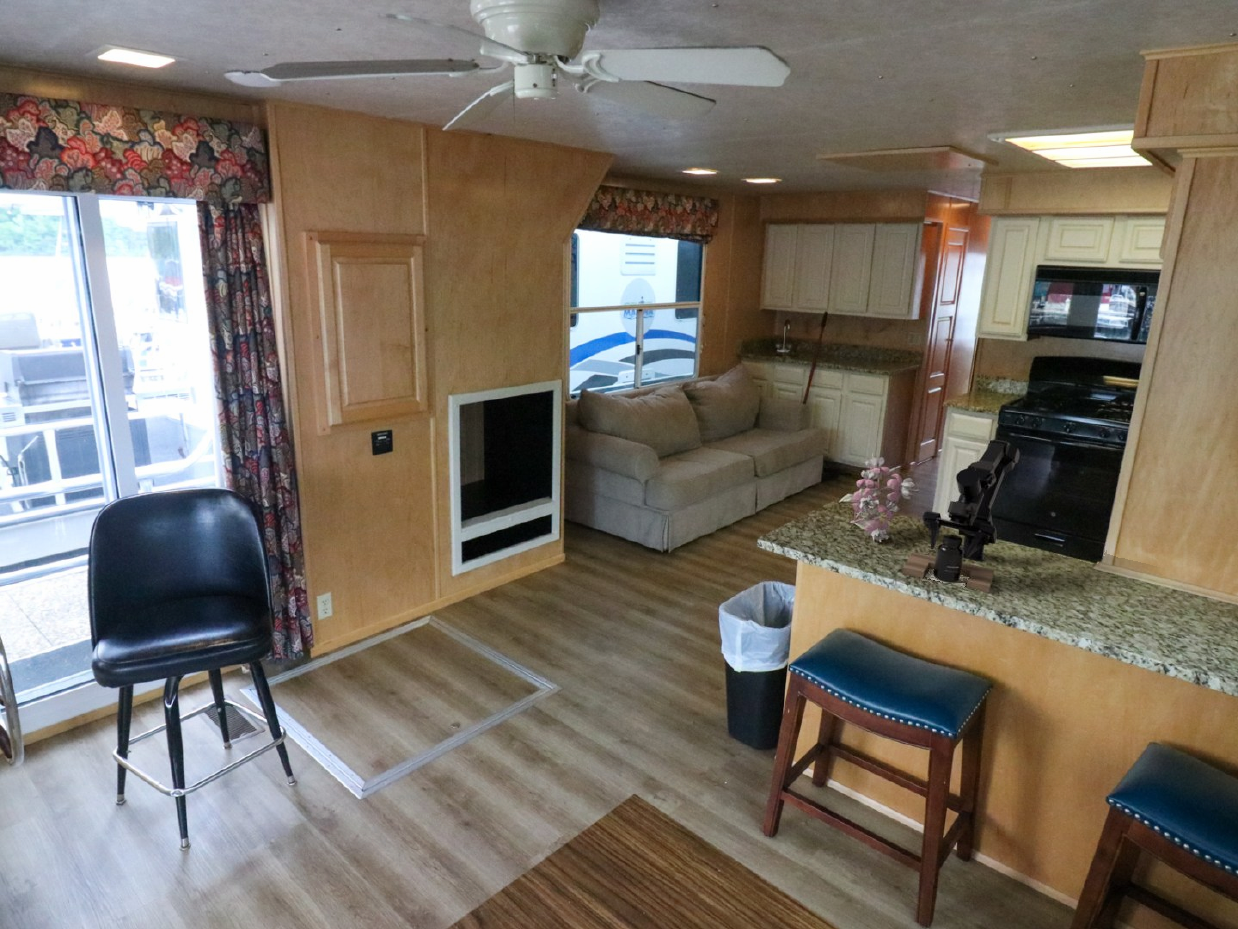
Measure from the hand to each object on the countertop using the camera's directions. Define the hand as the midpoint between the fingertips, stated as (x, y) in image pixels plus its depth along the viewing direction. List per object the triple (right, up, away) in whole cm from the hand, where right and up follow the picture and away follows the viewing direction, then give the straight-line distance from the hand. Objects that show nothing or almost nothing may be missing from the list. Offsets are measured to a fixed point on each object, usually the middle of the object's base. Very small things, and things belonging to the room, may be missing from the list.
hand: (948, 552), depth 208 cm
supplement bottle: (+1, -7, +3) cm, 8 cm away
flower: (-9, +1, +36) cm, 37 cm away
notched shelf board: (+2, -7, +6) cm, 9 cm away
